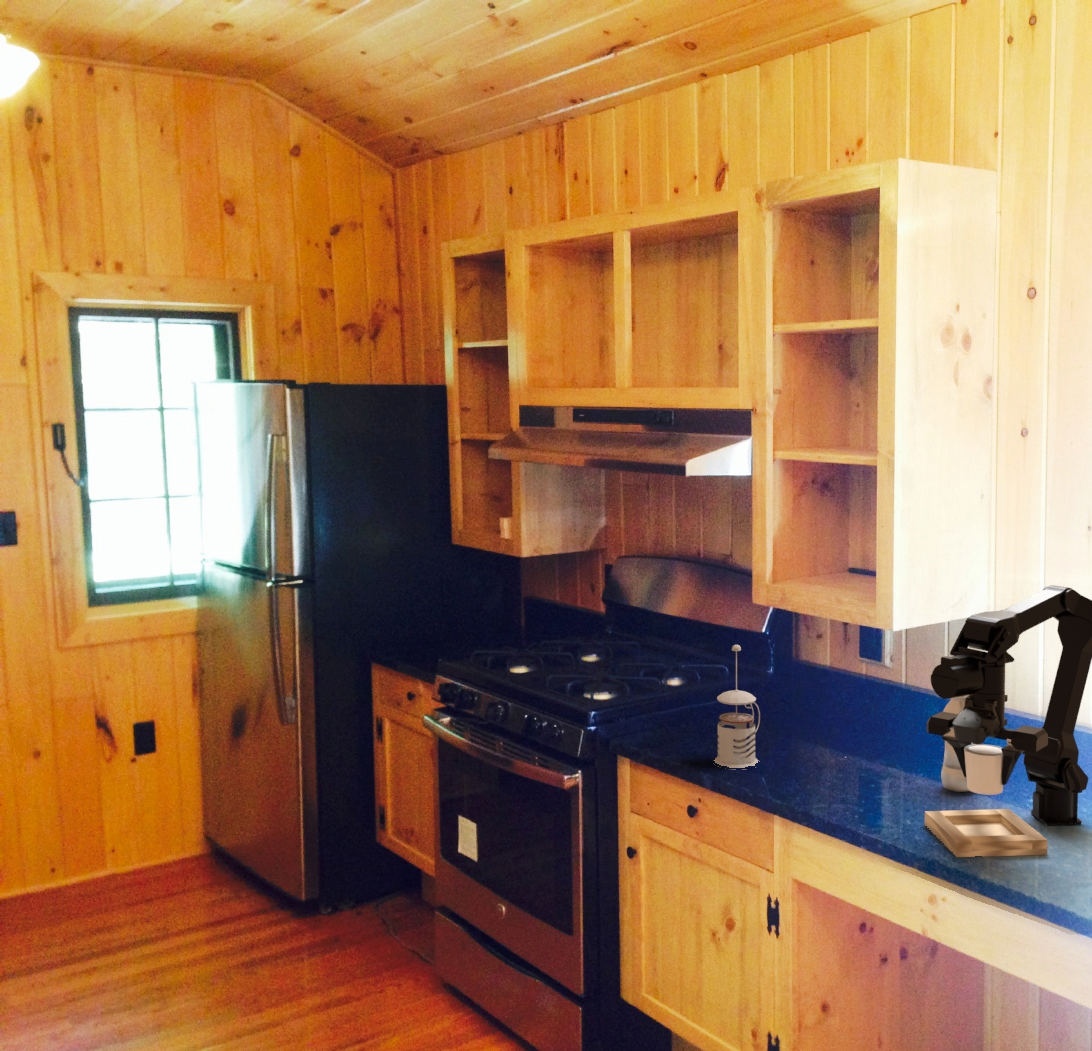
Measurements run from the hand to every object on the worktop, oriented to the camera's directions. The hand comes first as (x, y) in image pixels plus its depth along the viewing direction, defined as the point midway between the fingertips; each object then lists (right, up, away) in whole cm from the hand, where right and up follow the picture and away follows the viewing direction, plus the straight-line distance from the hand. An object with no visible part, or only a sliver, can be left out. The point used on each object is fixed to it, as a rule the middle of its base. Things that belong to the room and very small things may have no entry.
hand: (985, 780), depth 199 cm
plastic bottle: (+5, -8, +26) cm, 28 cm away
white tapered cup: (0, -2, 0) cm, 2 cm away
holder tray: (0, -10, +1) cm, 10 cm away
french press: (-34, -6, +47) cm, 58 cm away
